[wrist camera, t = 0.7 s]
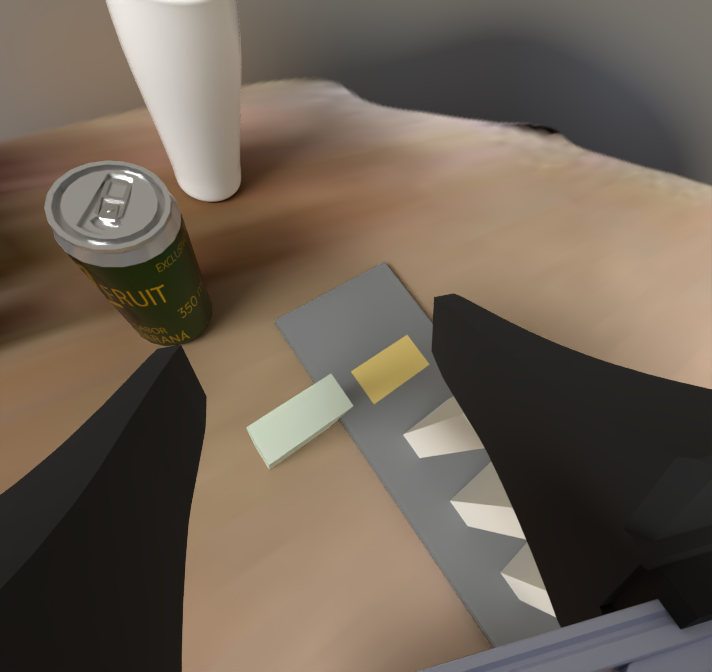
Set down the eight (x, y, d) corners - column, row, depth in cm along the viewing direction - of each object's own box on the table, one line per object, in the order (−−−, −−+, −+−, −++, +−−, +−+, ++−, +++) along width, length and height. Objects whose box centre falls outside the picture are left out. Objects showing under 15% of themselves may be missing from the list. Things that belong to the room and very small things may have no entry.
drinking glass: (259, 205, 32) (251, 3, 18) (178, 218, 30) (101, -1, 16) (238, 148, 34) (217, -75, 20) (160, 156, 32) (78, -88, 18)
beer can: (144, 279, 27) (61, 146, 17) (218, 288, 28) (186, 168, 18) (126, 345, 25) (17, 244, 14) (206, 352, 26) (162, 262, 16)
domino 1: (327, 429, 26) (353, 405, 18) (269, 470, 24) (269, 464, 16) (312, 406, 27) (330, 373, 18) (254, 444, 25) (246, 427, 17)
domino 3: (510, 482, 27) (615, 482, 19) (467, 526, 25) (562, 548, 17) (493, 459, 27) (588, 449, 19) (449, 500, 25) (534, 510, 17)
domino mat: (652, 616, 26) (662, 620, 26) (566, 756, 22) (576, 765, 21) (382, 266, 33) (384, 261, 32) (275, 323, 28) (275, 319, 28)
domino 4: (561, 549, 26) (694, 580, 18) (519, 599, 24) (647, 661, 16) (542, 524, 26) (664, 543, 18) (500, 572, 24) (615, 618, 16)
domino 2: (464, 420, 28) (544, 395, 20) (419, 458, 26) (487, 447, 18) (448, 398, 28) (520, 365, 20) (403, 434, 26) (461, 414, 18)
